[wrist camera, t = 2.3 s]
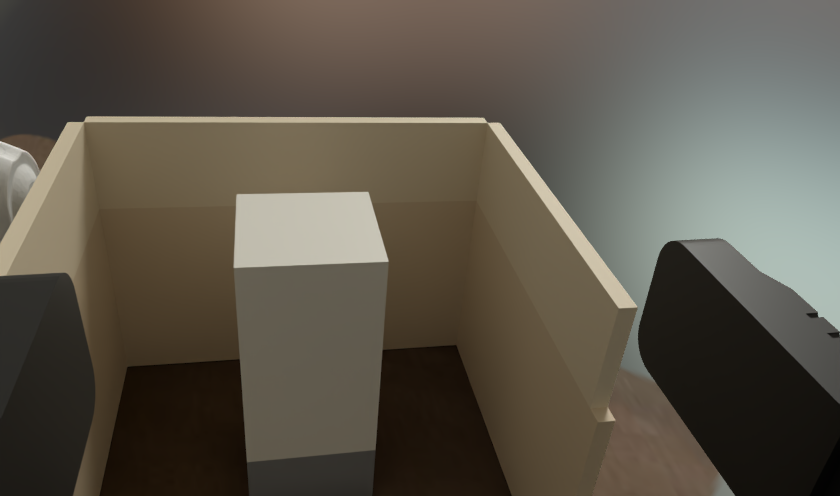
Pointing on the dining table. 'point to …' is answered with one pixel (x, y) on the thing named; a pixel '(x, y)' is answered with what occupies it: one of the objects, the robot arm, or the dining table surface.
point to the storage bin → (404, 244)
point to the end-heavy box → (310, 340)
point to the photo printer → (14, 182)
